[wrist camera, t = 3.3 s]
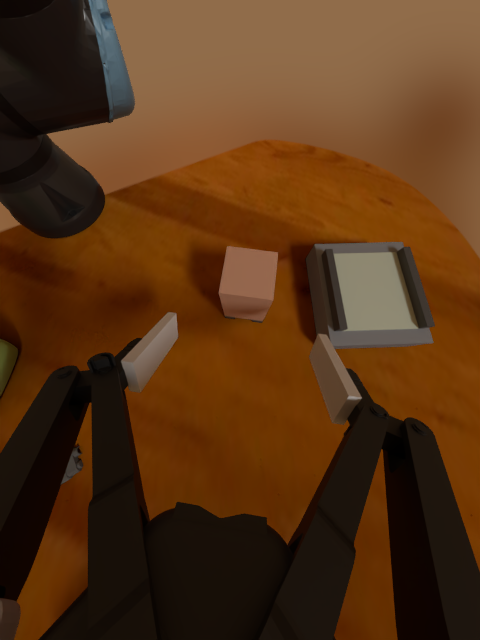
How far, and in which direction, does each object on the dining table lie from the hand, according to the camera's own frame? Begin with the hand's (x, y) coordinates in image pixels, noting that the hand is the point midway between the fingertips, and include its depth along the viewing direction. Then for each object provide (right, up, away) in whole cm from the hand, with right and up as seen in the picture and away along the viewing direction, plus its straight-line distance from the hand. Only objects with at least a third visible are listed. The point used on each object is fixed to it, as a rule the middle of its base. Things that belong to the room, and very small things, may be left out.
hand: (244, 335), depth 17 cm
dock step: (+19, +5, +13) cm, 23 cm away
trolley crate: (+1, +4, +13) cm, 14 cm away
